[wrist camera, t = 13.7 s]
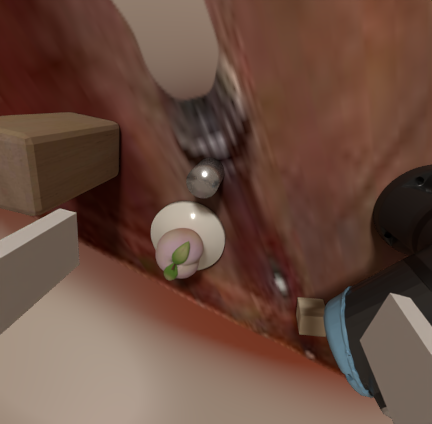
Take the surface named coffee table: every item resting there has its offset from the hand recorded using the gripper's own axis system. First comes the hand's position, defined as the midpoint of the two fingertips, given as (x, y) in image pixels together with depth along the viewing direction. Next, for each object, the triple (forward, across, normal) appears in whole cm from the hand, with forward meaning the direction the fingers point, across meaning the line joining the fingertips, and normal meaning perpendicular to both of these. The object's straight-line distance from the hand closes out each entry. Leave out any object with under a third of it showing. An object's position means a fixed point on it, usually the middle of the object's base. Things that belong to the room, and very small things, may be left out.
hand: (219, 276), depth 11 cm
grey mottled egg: (+35, +6, +6) cm, 36 cm away
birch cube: (+35, -20, +30) cm, 50 cm away
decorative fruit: (+33, +8, +20) cm, 40 cm away
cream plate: (+35, +8, +20) cm, 41 cm away
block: (+35, +28, +6) cm, 45 cm away
